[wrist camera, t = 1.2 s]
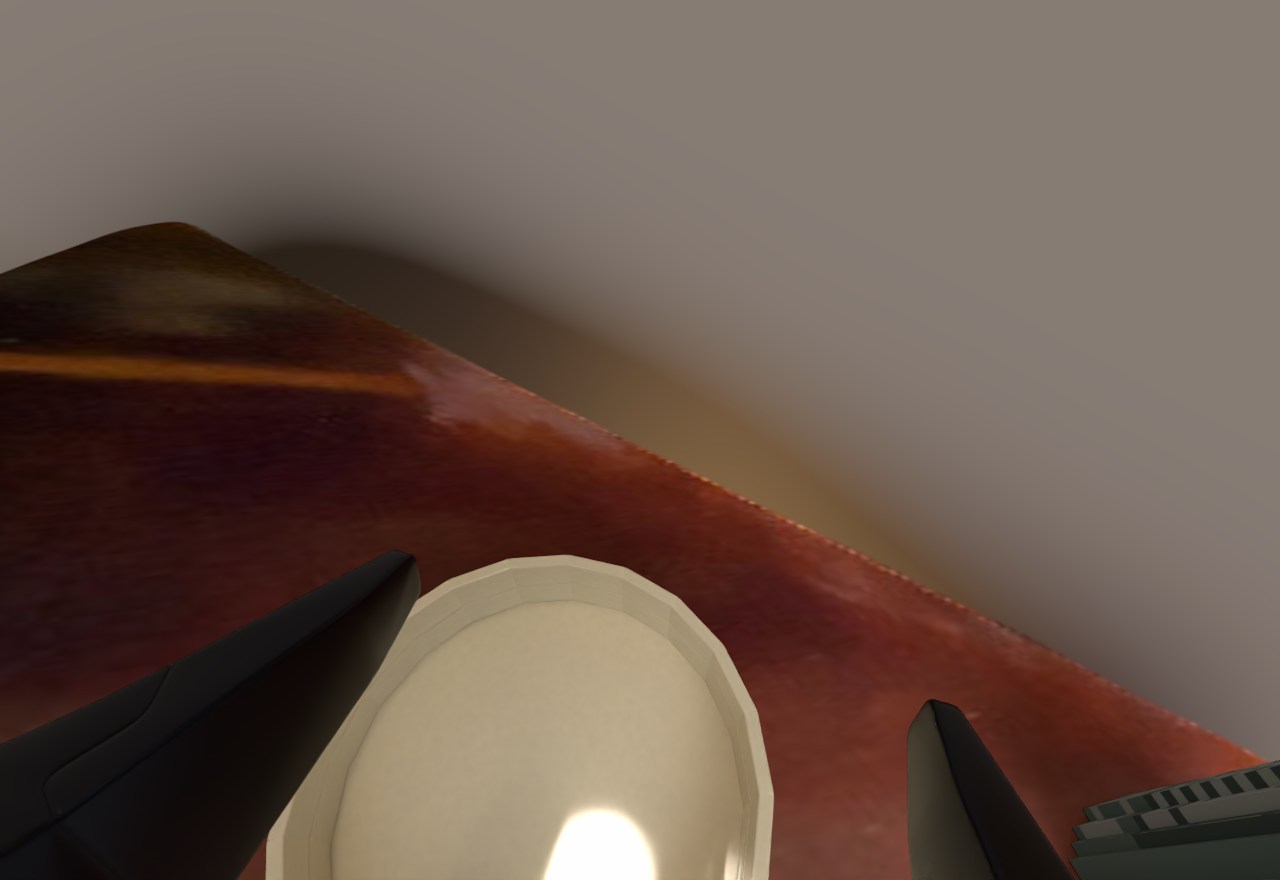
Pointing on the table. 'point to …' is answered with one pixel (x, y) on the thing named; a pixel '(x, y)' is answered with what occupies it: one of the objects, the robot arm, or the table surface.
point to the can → (1187, 831)
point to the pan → (540, 743)
